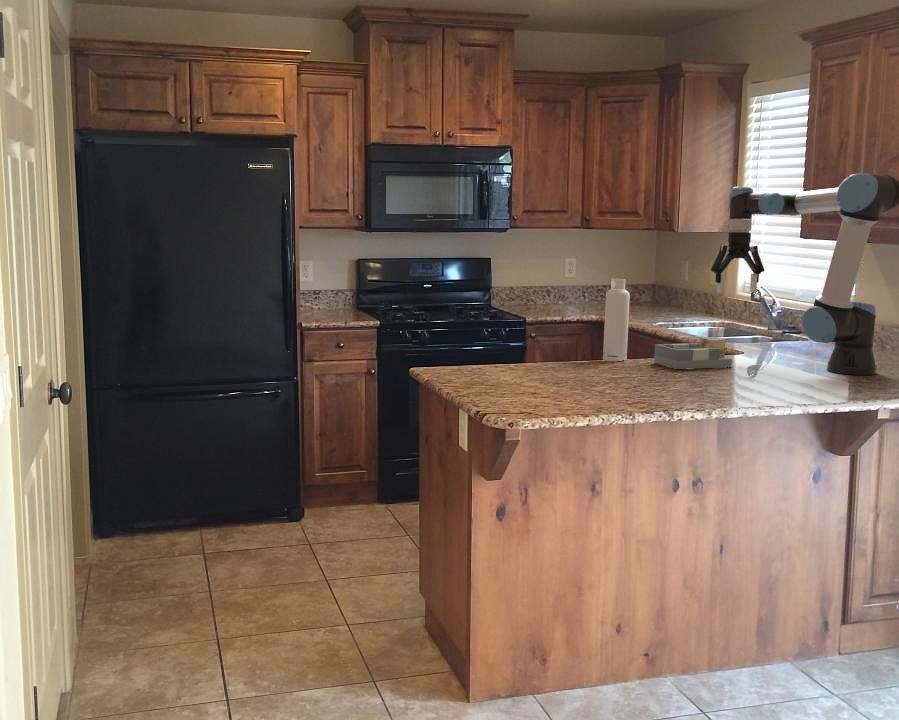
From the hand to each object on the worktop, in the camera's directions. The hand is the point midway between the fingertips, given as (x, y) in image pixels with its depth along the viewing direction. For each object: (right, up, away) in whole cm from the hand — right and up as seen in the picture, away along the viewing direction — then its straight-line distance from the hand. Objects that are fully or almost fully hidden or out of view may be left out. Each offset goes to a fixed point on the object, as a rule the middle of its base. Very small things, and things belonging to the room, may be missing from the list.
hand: (736, 292), depth 346 cm
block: (-12, -23, -14) cm, 29 cm away
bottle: (-44, -24, -7) cm, 51 cm away
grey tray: (-20, -26, -16) cm, 36 cm away
